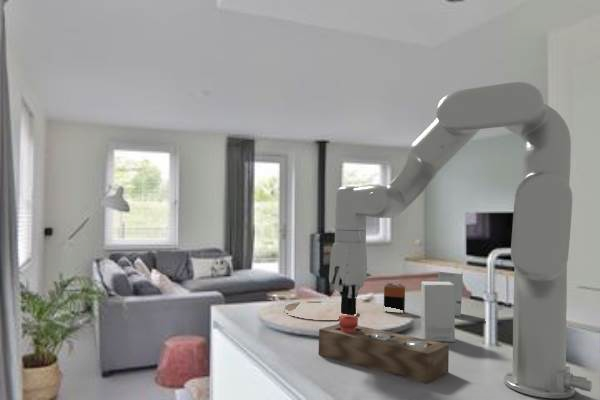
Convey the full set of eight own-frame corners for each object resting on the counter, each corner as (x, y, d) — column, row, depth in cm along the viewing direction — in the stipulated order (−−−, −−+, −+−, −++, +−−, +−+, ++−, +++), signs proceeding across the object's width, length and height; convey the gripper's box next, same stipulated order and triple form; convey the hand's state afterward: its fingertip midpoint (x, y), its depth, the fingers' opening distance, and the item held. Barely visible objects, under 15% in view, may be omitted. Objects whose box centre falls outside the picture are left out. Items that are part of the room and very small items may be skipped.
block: (448, 372, 103) (448, 344, 103) (427, 383, 95) (428, 353, 95) (342, 346, 121) (343, 322, 121) (318, 354, 113) (319, 329, 114)
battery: (385, 310, 170) (386, 282, 170) (404, 311, 168) (405, 283, 168) (383, 312, 166) (384, 283, 166) (403, 314, 163) (403, 285, 164)
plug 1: (393, 358, 108) (394, 335, 109) (383, 363, 105) (384, 339, 105) (377, 354, 111) (377, 332, 111) (366, 358, 108) (367, 335, 108)
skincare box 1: (450, 336, 134) (451, 281, 134) (455, 343, 127) (456, 284, 128) (419, 335, 134) (420, 280, 135) (423, 341, 128) (424, 283, 128)
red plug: (360, 339, 114) (361, 316, 114) (350, 342, 111) (350, 319, 111) (345, 335, 117) (346, 314, 117) (335, 338, 114) (335, 316, 114)
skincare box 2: (436, 314, 164) (437, 271, 165) (437, 311, 170) (438, 269, 171) (461, 316, 162) (462, 273, 162) (462, 313, 167) (462, 271, 168)
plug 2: (430, 368, 102) (431, 343, 103) (421, 372, 99) (421, 347, 99) (412, 363, 105) (412, 339, 106) (402, 368, 102) (402, 343, 102)
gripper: (354, 236, 123) (353, 307, 122) (319, 237, 112) (316, 315, 111) (380, 238, 118) (378, 312, 118) (345, 239, 107) (342, 321, 106)
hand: (348, 313), depth 114 cm, fingers closed
